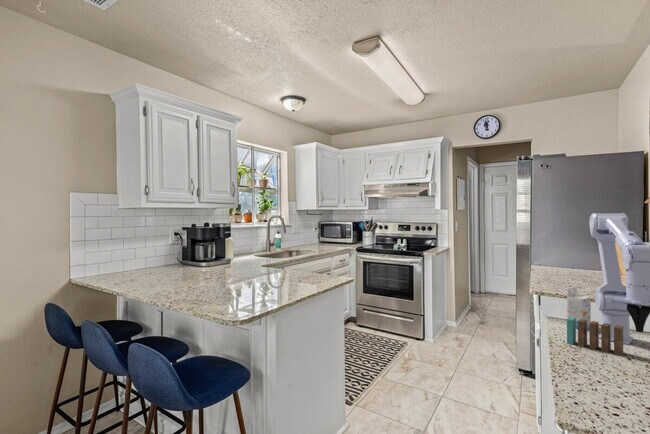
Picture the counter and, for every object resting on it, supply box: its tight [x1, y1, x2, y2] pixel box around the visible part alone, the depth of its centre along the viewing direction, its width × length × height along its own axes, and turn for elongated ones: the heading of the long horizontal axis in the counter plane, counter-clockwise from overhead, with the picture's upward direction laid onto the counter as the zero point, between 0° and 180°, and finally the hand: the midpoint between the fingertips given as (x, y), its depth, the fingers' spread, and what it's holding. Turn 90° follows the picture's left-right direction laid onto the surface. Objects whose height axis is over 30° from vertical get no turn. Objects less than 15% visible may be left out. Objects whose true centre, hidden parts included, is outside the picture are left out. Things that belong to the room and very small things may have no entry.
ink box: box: [566, 286, 592, 328], centre depth 131 cm, size 8×5×15 cm, turn 123°
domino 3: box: [588, 320, 600, 351], centre depth 108 cm, size 2×4×8 cm, turn 131°
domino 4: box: [600, 323, 612, 353], centre depth 106 cm, size 2×4×8 cm, turn 131°
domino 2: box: [577, 319, 588, 348], centre depth 111 cm, size 2×4×8 cm, turn 131°
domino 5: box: [613, 325, 624, 356], centre depth 104 cm, size 2×4×8 cm, turn 130°
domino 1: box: [566, 317, 577, 345], centre depth 113 cm, size 2×4×8 cm, turn 132°
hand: (639, 331), depth 100 cm, fingers closed
